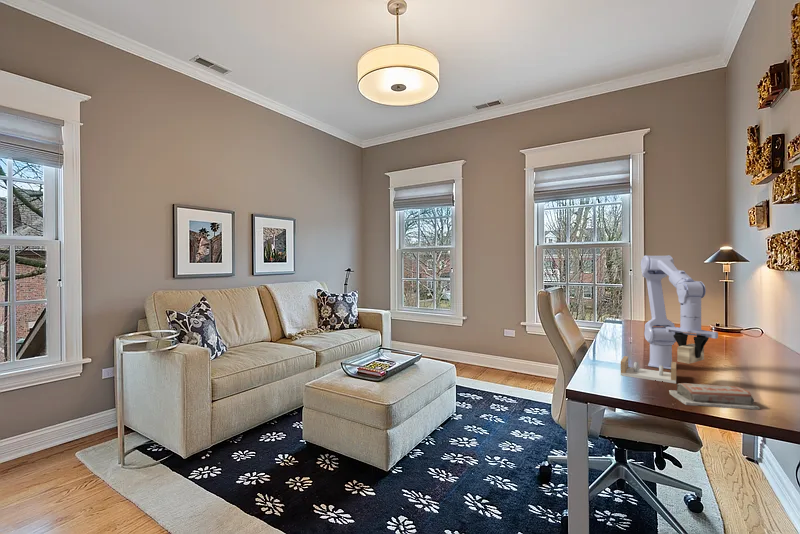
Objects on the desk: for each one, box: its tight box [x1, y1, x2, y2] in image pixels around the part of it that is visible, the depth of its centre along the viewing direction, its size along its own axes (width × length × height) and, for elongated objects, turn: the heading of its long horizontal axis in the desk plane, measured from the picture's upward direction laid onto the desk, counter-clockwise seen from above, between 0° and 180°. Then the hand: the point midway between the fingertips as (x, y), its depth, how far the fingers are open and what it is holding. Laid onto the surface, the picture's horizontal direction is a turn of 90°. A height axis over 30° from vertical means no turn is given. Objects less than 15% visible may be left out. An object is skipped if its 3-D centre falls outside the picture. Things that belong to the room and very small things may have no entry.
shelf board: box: [676, 343, 705, 365], centre depth 130 cm, size 11×4×5 cm, turn 121°
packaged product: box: [668, 382, 761, 410], centre depth 110 cm, size 18×5×10 cm
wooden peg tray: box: [620, 355, 677, 384], centre depth 137 cm, size 11×16×5 cm
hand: (690, 356), depth 130 cm, fingers closed on shelf board, 3 cm apart
